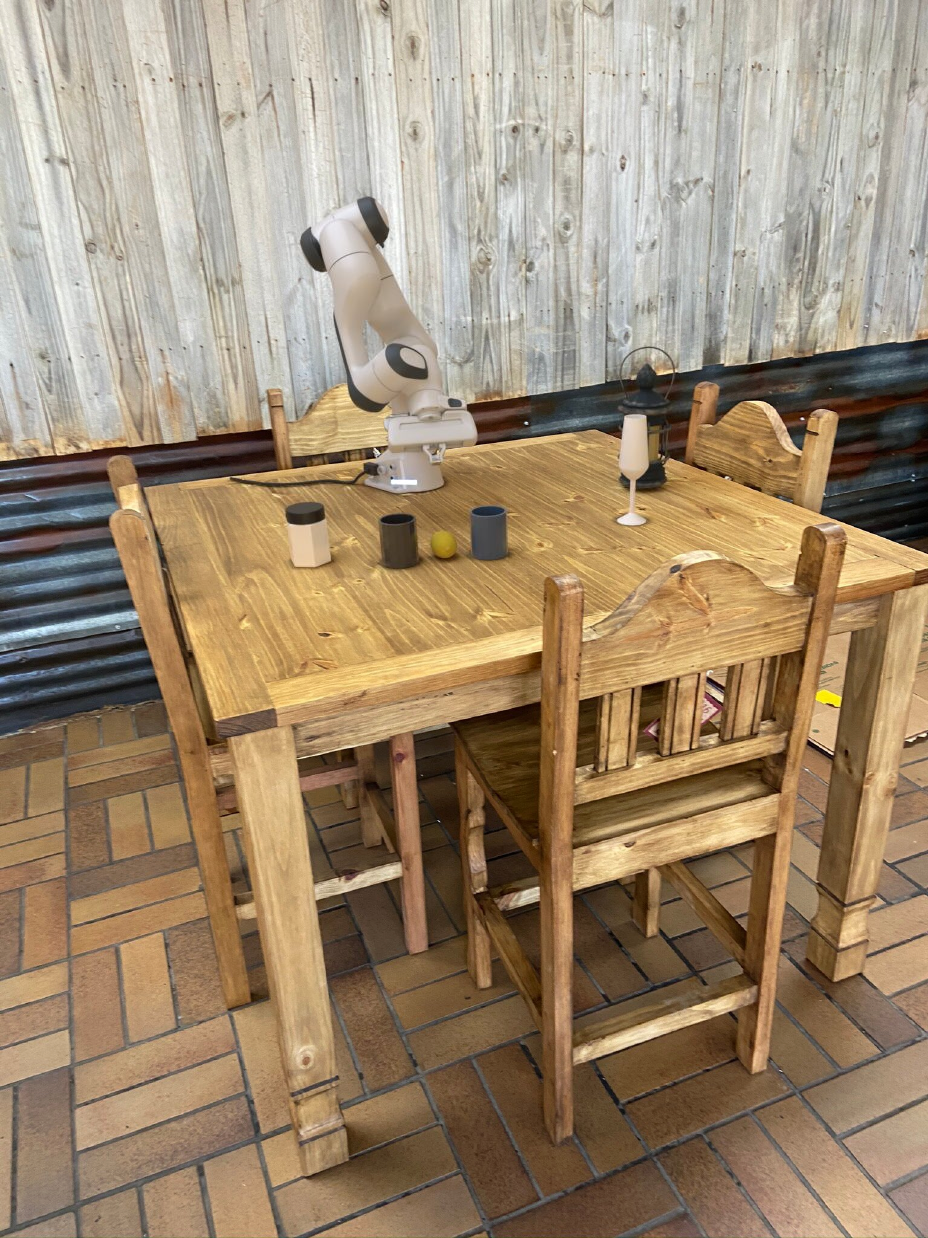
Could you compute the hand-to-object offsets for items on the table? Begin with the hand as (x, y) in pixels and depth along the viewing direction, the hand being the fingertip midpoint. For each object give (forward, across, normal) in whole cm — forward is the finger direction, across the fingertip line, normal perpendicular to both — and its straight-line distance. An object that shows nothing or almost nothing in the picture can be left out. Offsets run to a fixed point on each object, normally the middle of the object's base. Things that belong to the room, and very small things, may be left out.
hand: (436, 464), depth 197 cm
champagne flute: (+15, +44, +8) cm, 47 cm away
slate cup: (+23, +8, -1) cm, 25 cm away
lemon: (+18, -2, +1) cm, 18 cm away
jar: (+19, -30, +4) cm, 35 cm away
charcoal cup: (+23, -11, 0) cm, 25 cm away
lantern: (-3, +56, +26) cm, 62 cm away
